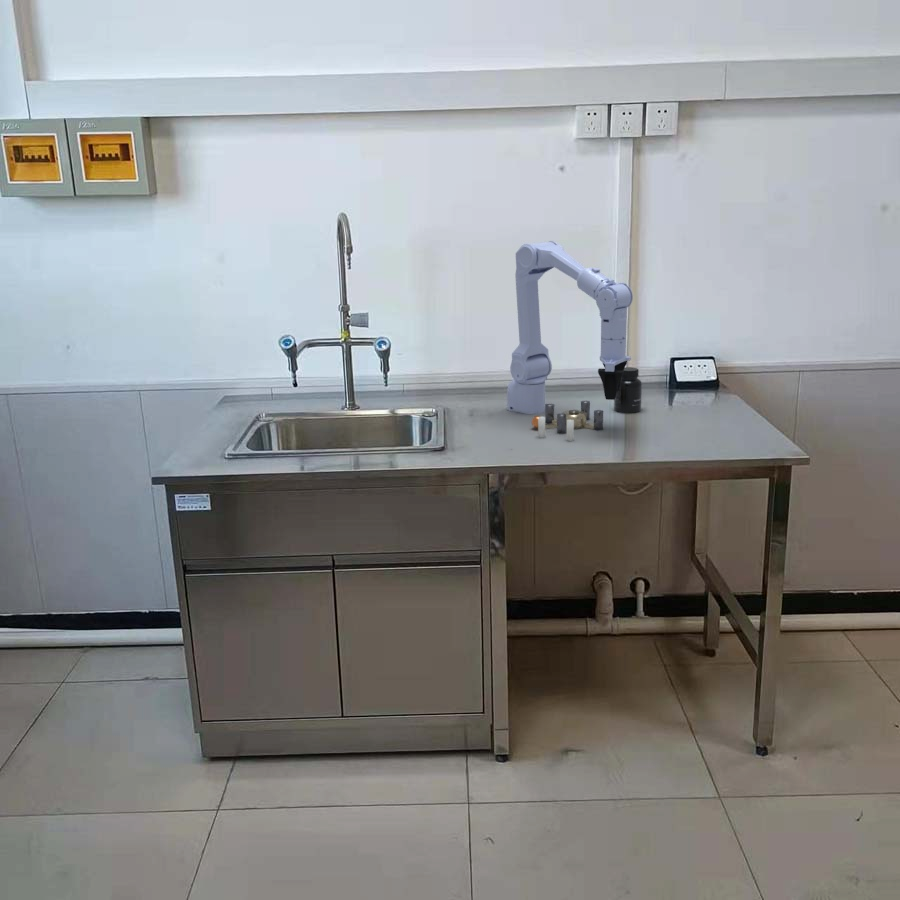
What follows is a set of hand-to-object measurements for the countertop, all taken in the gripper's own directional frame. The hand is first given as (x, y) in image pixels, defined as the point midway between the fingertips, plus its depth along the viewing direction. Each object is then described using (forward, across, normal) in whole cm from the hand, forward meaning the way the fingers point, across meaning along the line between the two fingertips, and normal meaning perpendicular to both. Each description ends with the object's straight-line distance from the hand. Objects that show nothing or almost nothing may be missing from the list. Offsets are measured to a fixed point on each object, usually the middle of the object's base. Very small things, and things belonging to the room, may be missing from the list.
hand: (612, 395), depth 206 cm
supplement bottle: (+10, +19, -2) cm, 22 cm away
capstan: (+9, +3, +9) cm, 13 cm away
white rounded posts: (+9, -7, +11) cm, 16 cm away
